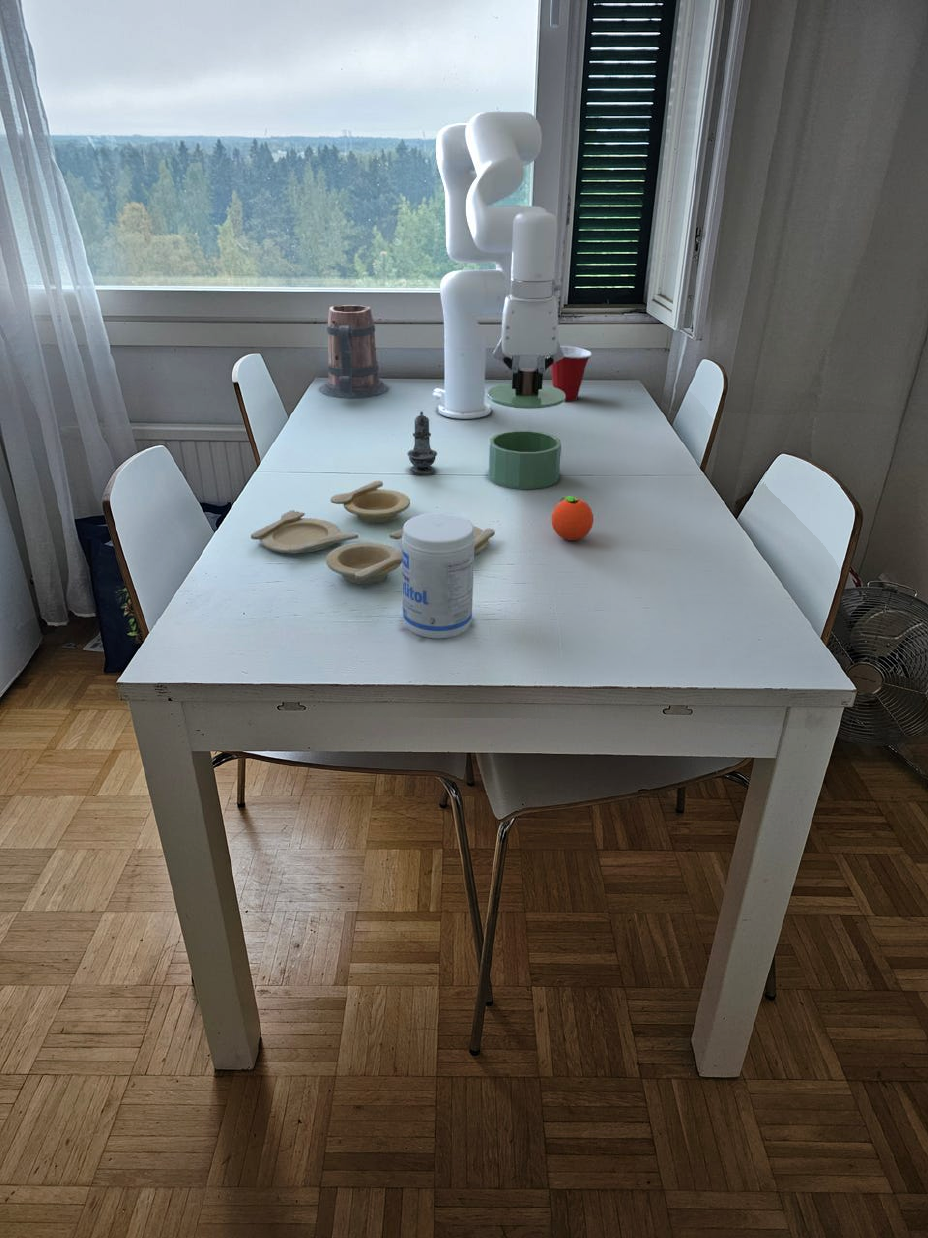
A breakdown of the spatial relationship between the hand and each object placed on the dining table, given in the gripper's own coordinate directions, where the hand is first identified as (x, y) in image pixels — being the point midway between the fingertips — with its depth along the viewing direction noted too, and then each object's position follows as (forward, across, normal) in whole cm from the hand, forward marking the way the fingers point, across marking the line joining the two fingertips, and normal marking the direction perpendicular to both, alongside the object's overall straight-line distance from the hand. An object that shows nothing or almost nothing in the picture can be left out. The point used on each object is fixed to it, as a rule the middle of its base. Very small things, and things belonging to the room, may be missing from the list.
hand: (526, 391), depth 162 cm
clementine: (+16, -6, +29) cm, 34 cm away
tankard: (+18, +39, -59) cm, 73 cm away
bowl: (+16, 0, +1) cm, 17 cm away
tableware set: (+16, +27, +32) cm, 45 cm away
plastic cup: (+18, -15, -55) cm, 60 cm away
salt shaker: (+17, +20, -2) cm, 26 cm away
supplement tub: (+16, +16, +58) cm, 62 cm away
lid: (+1, 0, 0) cm, 1 cm away
